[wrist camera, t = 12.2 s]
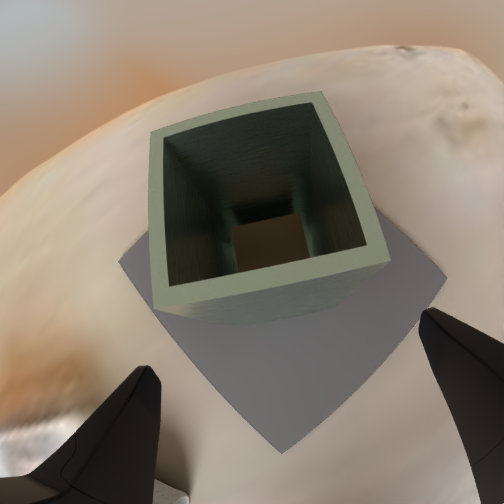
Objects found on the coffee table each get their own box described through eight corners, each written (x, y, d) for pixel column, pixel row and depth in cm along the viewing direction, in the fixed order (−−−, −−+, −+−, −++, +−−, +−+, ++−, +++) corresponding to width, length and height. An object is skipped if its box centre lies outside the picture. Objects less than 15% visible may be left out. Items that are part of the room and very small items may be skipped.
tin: (333, 307, 17) (390, 260, 6) (238, 326, 17) (153, 309, 7) (312, 219, 18) (321, 91, 8) (224, 238, 19) (150, 132, 9)
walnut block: (311, 291, 17) (315, 280, 13) (253, 303, 17) (242, 295, 14) (298, 236, 18) (299, 212, 14) (243, 248, 18) (231, 227, 15)
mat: (444, 279, 16) (447, 277, 16) (282, 451, 15) (281, 453, 14) (268, 130, 22) (267, 126, 21) (121, 263, 20) (118, 261, 20)
